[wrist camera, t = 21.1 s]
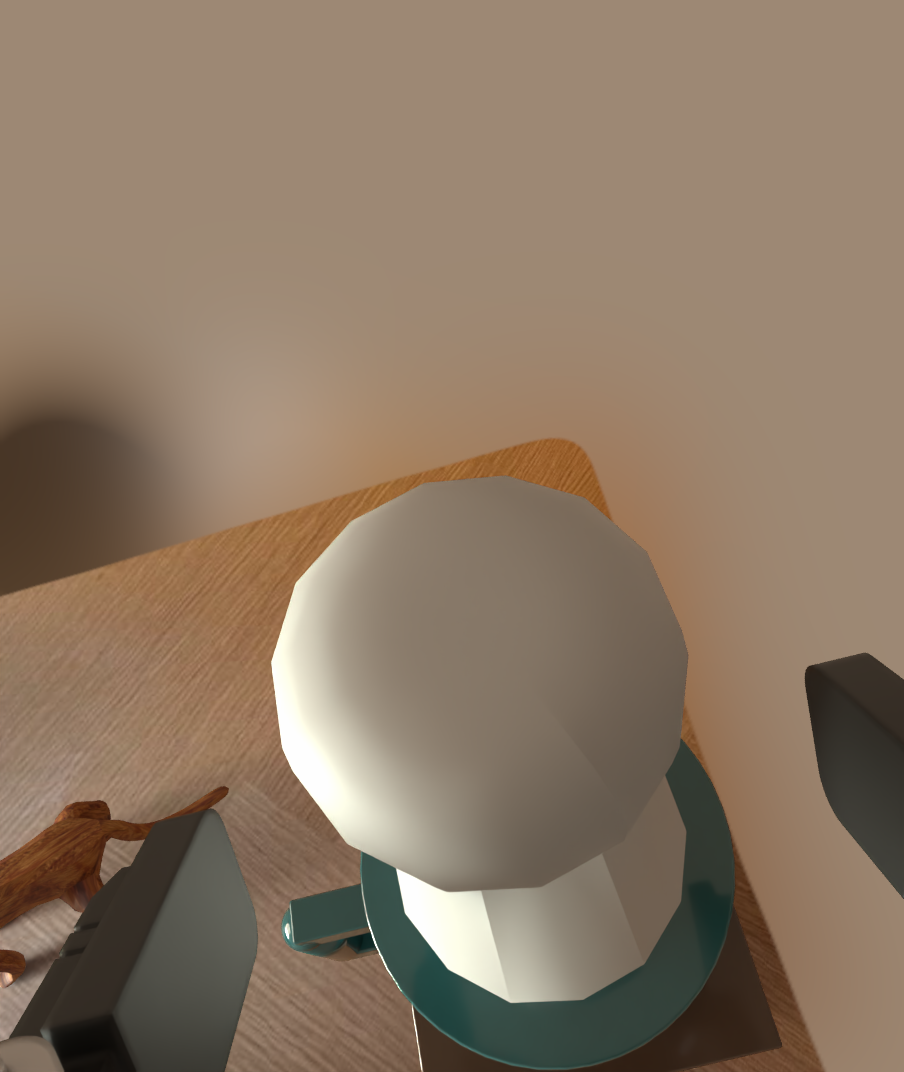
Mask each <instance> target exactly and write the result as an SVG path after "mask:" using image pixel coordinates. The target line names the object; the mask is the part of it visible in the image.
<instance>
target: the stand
mask: <svg viewBox="0 0 904 1072" xmlns="http://www.w3.org/2000/svg"><path fill="white" fill-rule="evenodd" d="M411 1006H412V1013H413V1019H414V1026H415V1032H416V1039H417V1045H418V1052H419V1058H420V1065H421V1072H679V1071H684V1070H688V1069H692V1068H696V1067H701V1066H705V1065H709V1064H714V1063H718V1062H722V1061H727V1060H731V1059H735V1058H739V1057H744V1056H748V1055H752V1054H757V1053H761V1052H765V1051H769V1050H774V1049H778V1048H781V1047H782V1042H781V1040H780V1037H779V1034H778V1031H777V1028H776V1025H775V1022H774V1019H773V1017H772V1014H771V1011H770V1008H769V1005H768V1002H767V999H766V996H765V993H764V991H763V988H762V985H761V982H760V979H759V976H758V973H757V970H756V967H755V965H754V962H753V959H752V956H751V953H750V950H749V947H748V944H747V941H746V939H745V936H744V933H743V930H742V927H741V924H740V921H739V918H738V916H737V913H736V910H735V907H734V904H733V913H732V917H731V921H730V926H729V930H728V934H727V938H726V941H725V944H724V946H723V949H722V951H721V954H720V957H719V959H718V962H717V964H716V966H715V968H714V970H713V972H712V973H711V975H710V977H709V979H708V981H707V982H706V984H705V986H704V988H703V989H702V991H701V992H700V993H699V995H698V996H697V997H696V998H695V1000H694V1001H693V1002H692V1004H691V1005H690V1006H689V1008H688V1009H687V1010H686V1011H685V1012H684V1013H683V1014H682V1015H681V1016H680V1017H679V1018H678V1019H677V1020H676V1021H675V1022H674V1023H673V1024H672V1025H671V1026H670V1027H669V1028H668V1029H667V1030H665V1031H664V1032H662V1033H661V1034H660V1035H658V1036H657V1037H655V1038H654V1039H652V1040H651V1041H650V1042H648V1043H647V1044H645V1045H644V1046H642V1047H640V1048H638V1049H636V1050H634V1051H632V1052H630V1053H628V1054H626V1055H624V1056H622V1057H620V1058H617V1059H614V1060H611V1061H608V1062H604V1063H601V1064H598V1065H595V1066H590V1067H584V1068H577V1069H571V1070H535V1069H529V1068H523V1067H516V1066H511V1065H508V1064H505V1063H501V1062H498V1061H495V1060H492V1059H489V1058H486V1057H484V1056H481V1055H479V1054H477V1053H475V1052H473V1051H471V1050H469V1049H467V1048H465V1047H463V1046H461V1045H460V1044H458V1043H457V1042H455V1041H454V1040H452V1039H451V1038H449V1037H448V1036H446V1035H445V1034H443V1033H442V1032H440V1031H439V1030H438V1029H437V1028H435V1027H434V1026H433V1025H432V1024H431V1023H430V1022H429V1021H428V1020H427V1019H425V1018H424V1017H423V1016H422V1015H421V1014H420V1013H419V1012H418V1011H417V1010H416V1009H415V1008H414V1006H413V1005H412V1004H411Z"/></svg>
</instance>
